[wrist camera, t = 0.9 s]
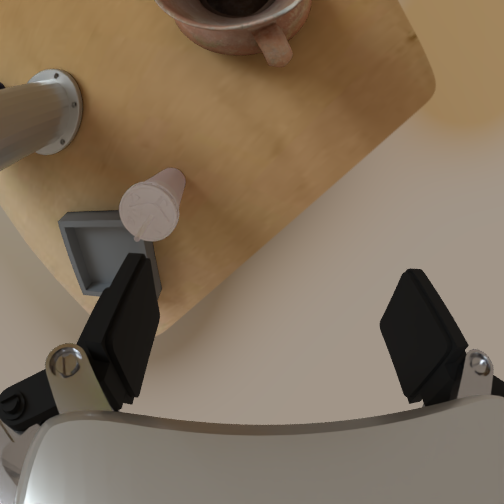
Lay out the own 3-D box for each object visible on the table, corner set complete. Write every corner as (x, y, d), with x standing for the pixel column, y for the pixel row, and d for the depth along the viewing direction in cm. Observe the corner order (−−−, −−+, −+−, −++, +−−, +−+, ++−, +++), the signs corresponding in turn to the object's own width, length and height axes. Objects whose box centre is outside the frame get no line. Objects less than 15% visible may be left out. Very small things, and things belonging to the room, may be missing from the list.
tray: (90, 283, 46) (83, 294, 43) (67, 212, 38) (57, 221, 35) (161, 288, 45) (157, 301, 43) (146, 209, 38) (139, 219, 35)
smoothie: (188, 210, 38) (158, 275, 26) (144, 195, 37) (97, 254, 25) (202, 166, 34) (172, 216, 23) (154, 151, 33) (102, 194, 22)
